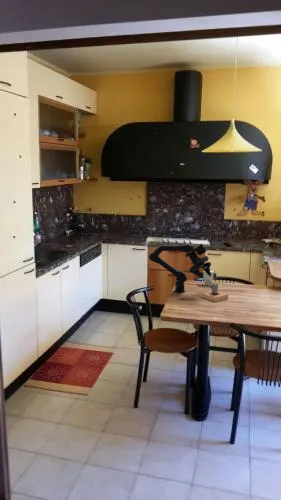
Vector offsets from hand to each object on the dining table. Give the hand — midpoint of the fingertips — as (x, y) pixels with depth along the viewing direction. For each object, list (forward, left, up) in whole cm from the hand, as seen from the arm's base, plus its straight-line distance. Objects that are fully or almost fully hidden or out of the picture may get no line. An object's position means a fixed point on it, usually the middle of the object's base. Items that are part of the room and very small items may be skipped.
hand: (206, 277), depth 281 cm
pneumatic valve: (-19, +22, -14) cm, 32 cm away
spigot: (+7, +1, -13) cm, 15 cm away
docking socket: (+7, +1, -13) cm, 15 cm away
